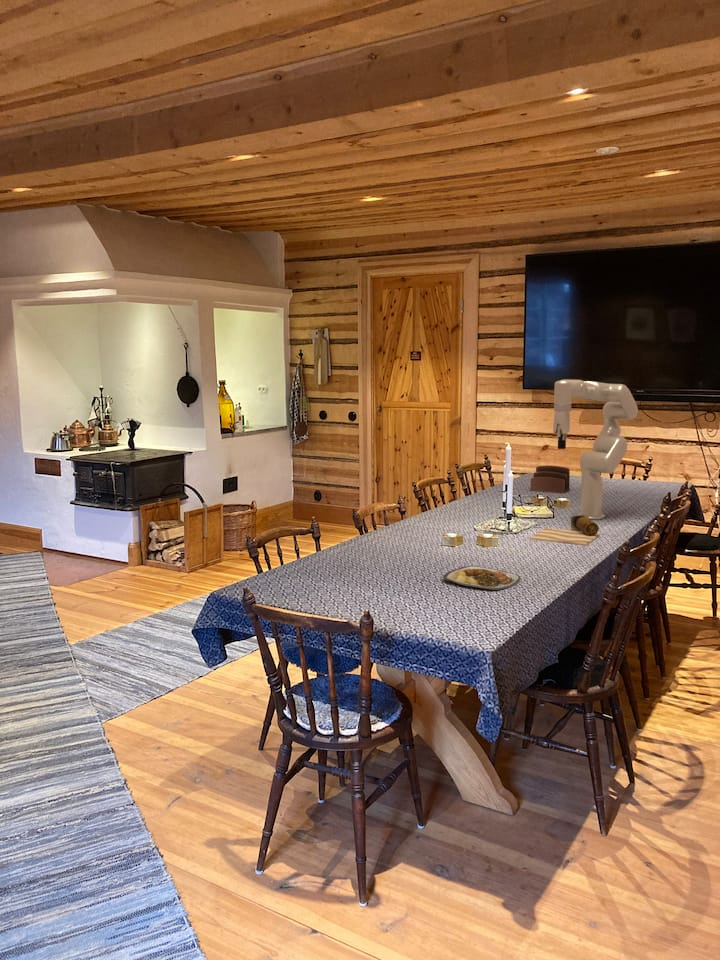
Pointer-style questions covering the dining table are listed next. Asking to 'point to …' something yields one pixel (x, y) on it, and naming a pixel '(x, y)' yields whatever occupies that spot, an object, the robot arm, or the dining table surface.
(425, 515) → the dining table surface
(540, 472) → the letter holder
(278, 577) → the dining table surface
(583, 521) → the condiment
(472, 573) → the meal
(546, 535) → the oak board
